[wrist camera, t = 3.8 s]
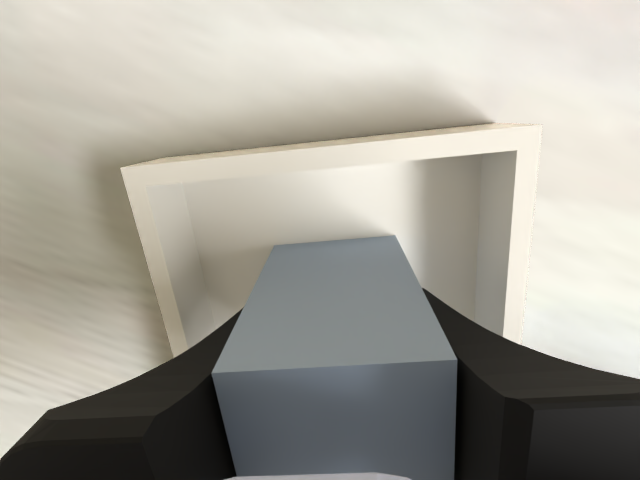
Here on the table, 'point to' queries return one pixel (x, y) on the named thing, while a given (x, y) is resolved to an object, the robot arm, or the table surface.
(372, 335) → the block
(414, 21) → the table surface
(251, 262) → the white square bin
